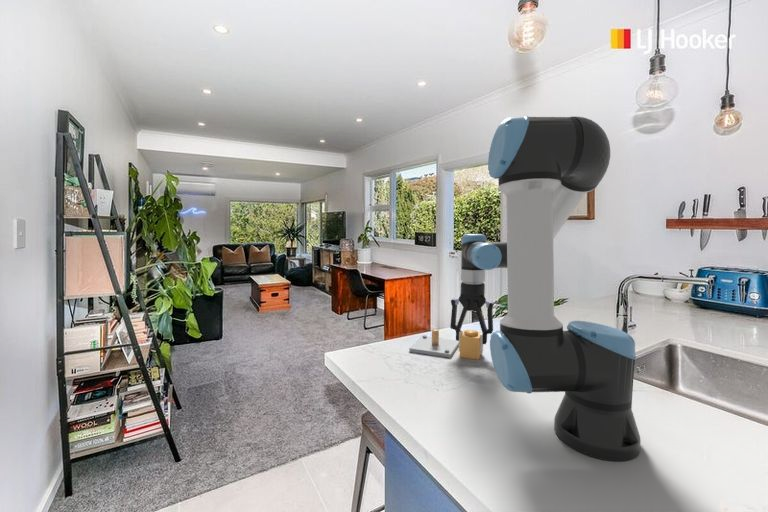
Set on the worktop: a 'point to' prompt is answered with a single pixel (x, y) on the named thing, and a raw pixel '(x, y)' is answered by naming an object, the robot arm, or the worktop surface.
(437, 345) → the plate
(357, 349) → the worktop surface
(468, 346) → the single stud toy brick
